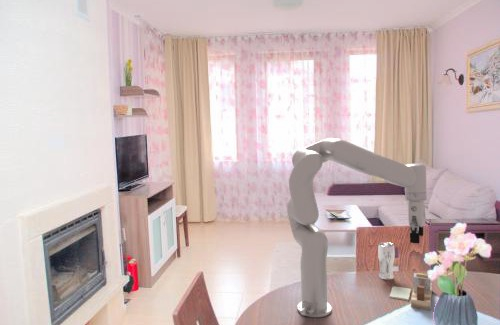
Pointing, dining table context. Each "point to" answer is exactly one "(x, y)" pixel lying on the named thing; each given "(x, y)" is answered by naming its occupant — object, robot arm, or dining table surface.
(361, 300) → the dining table surface
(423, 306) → the body
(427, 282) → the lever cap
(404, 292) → the mat
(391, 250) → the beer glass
